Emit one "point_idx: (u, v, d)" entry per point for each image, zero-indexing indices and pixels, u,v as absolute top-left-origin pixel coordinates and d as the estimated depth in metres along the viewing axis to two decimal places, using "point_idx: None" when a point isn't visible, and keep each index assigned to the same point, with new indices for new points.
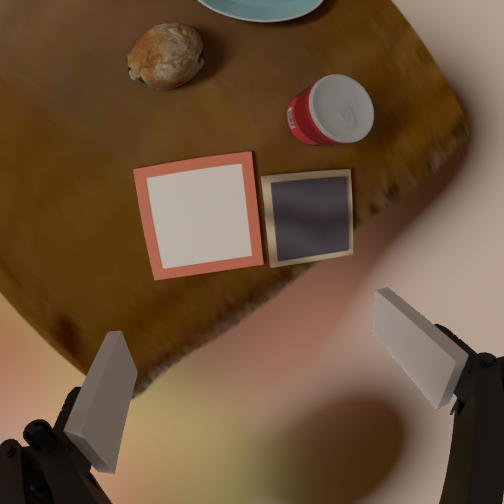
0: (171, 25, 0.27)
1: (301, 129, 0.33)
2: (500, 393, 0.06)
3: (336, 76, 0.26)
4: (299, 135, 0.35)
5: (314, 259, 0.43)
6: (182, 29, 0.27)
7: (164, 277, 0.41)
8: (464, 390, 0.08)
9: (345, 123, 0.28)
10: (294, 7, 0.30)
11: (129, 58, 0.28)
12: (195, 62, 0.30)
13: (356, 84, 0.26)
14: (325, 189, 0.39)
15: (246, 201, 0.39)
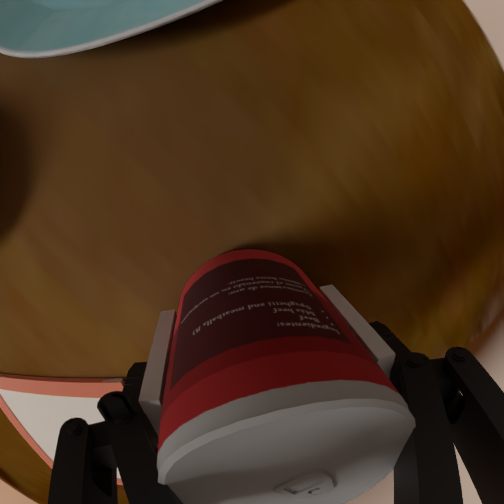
0: None
1: None
2: (437, 393, 0.07)
3: (276, 420, 0.05)
4: None
5: None
6: None
7: None
8: None
9: (294, 497, 0.07)
10: None
11: None
12: None
13: (378, 412, 0.05)
14: None
15: None
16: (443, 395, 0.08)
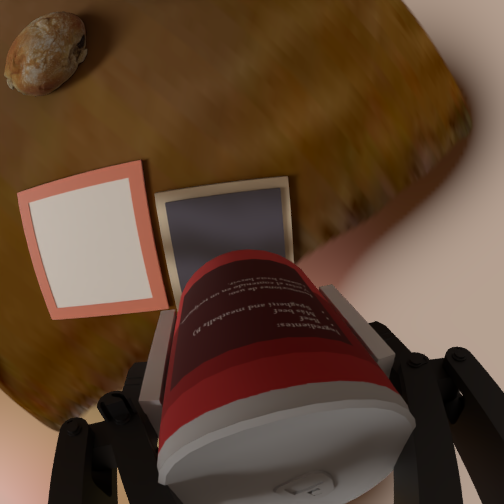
0: (45, 16, 0.15)
1: None
2: (436, 393, 0.07)
3: (277, 421, 0.05)
4: None
5: None
6: (52, 19, 0.15)
7: (60, 317, 0.29)
8: None
9: (295, 498, 0.07)
10: None
11: None
12: (66, 55, 0.18)
13: (378, 413, 0.05)
14: (245, 208, 0.28)
15: (138, 228, 0.28)
16: (443, 395, 0.08)
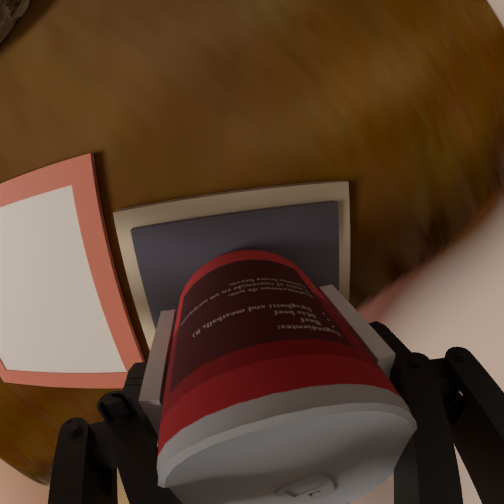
0: None
1: None
2: (436, 393, 0.07)
3: (277, 424, 0.05)
4: None
5: None
6: None
7: (12, 381, 0.17)
8: None
9: (295, 500, 0.07)
10: None
11: None
12: None
13: (379, 416, 0.05)
14: (277, 238, 0.15)
15: (92, 271, 0.16)
16: (443, 395, 0.08)
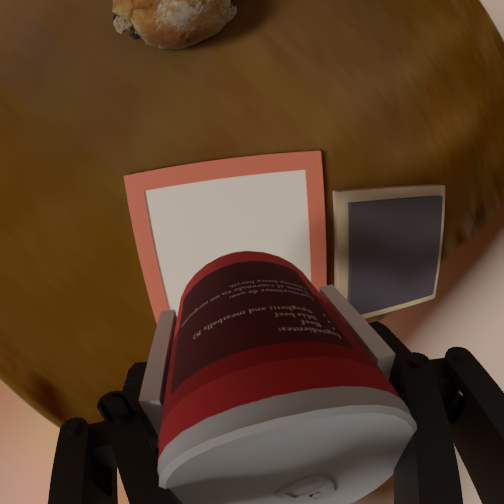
0: None
1: None
2: (436, 393, 0.07)
3: (278, 427, 0.05)
4: None
5: (392, 309, 0.28)
6: None
7: None
8: None
9: (295, 501, 0.07)
10: None
11: (115, 0, 0.14)
12: (227, 3, 0.15)
13: (380, 418, 0.05)
14: (418, 214, 0.24)
15: (310, 231, 0.25)
16: (443, 395, 0.08)
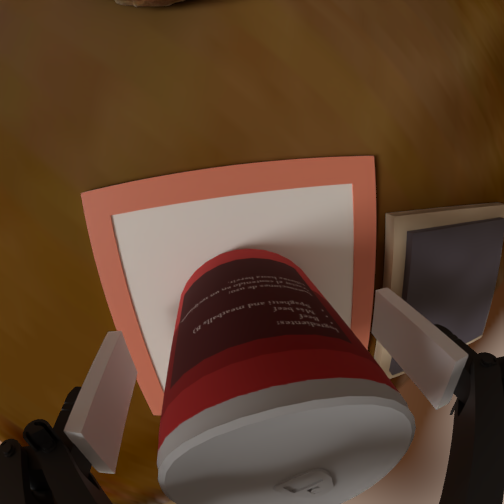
0: None
1: None
2: (500, 393, 0.06)
3: (276, 417, 0.05)
4: None
5: None
6: None
7: None
8: (464, 390, 0.08)
9: (294, 496, 0.07)
10: None
11: None
12: None
13: (377, 410, 0.05)
14: (481, 243, 0.17)
15: (354, 271, 0.17)
16: None
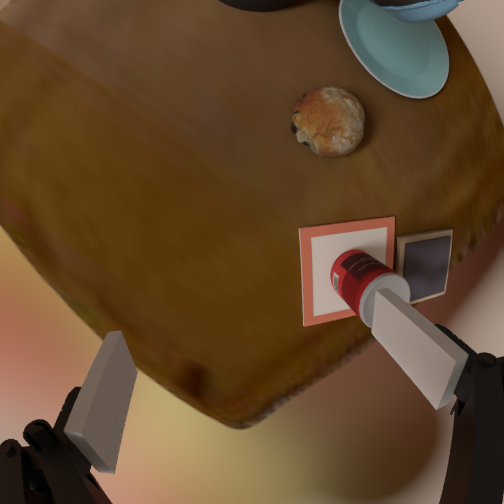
0: (342, 92, 0.32)
1: None
2: (500, 393, 0.06)
3: (387, 277, 0.32)
4: (341, 297, 0.41)
5: (422, 299, 0.47)
6: (355, 102, 0.32)
7: (313, 323, 0.45)
8: (464, 390, 0.08)
9: None
10: (427, 83, 0.35)
11: (300, 119, 0.33)
12: (362, 137, 0.35)
13: (401, 280, 0.33)
14: (437, 247, 0.44)
15: (386, 258, 0.44)
16: None
